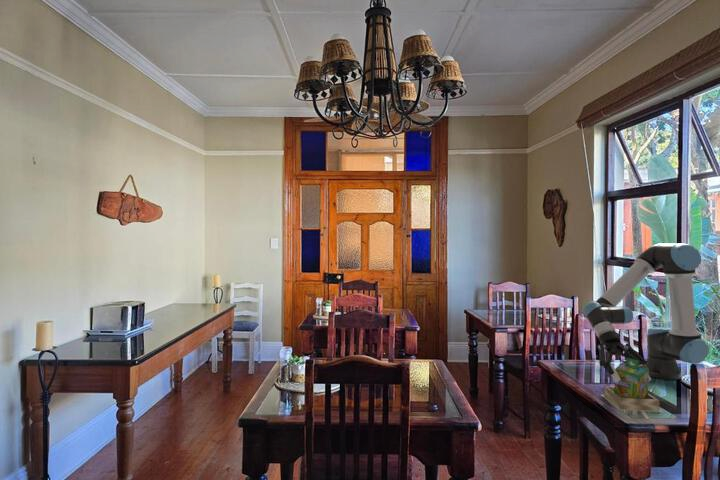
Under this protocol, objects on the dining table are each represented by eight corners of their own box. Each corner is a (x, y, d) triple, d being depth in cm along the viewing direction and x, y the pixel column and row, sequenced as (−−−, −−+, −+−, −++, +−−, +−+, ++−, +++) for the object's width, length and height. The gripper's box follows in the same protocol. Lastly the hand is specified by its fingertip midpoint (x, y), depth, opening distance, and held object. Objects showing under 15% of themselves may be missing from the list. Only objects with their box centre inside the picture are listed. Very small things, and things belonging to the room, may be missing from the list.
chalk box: (614, 394, 171) (613, 361, 168) (624, 385, 176) (623, 352, 173) (639, 403, 163) (639, 368, 161) (649, 393, 169) (649, 359, 166)
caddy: (639, 397, 176) (639, 387, 176) (659, 410, 162) (659, 400, 162) (604, 395, 177) (604, 386, 177) (620, 409, 164) (620, 398, 164)
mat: (640, 397, 177) (641, 396, 177) (663, 413, 161) (663, 412, 161) (600, 395, 179) (600, 394, 179) (618, 411, 163) (618, 409, 163)
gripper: (628, 339, 186) (655, 385, 171) (576, 339, 183) (600, 386, 168) (637, 329, 181) (667, 376, 166) (585, 330, 178) (610, 377, 163)
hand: (633, 381), depth 167 cm, fingers closed on chalk box, 13 cm apart
